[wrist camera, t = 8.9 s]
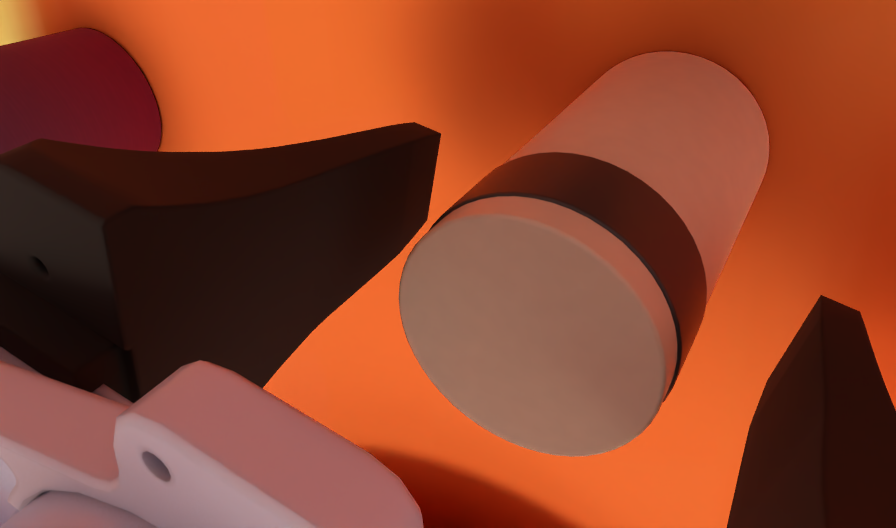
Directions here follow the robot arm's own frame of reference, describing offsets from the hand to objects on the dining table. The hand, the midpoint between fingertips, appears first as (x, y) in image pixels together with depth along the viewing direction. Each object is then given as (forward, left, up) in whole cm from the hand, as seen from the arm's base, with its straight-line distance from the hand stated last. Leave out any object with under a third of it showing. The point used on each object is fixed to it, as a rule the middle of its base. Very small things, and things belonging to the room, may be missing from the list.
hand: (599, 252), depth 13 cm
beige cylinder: (0, 0, -5) cm, 5 cm away
